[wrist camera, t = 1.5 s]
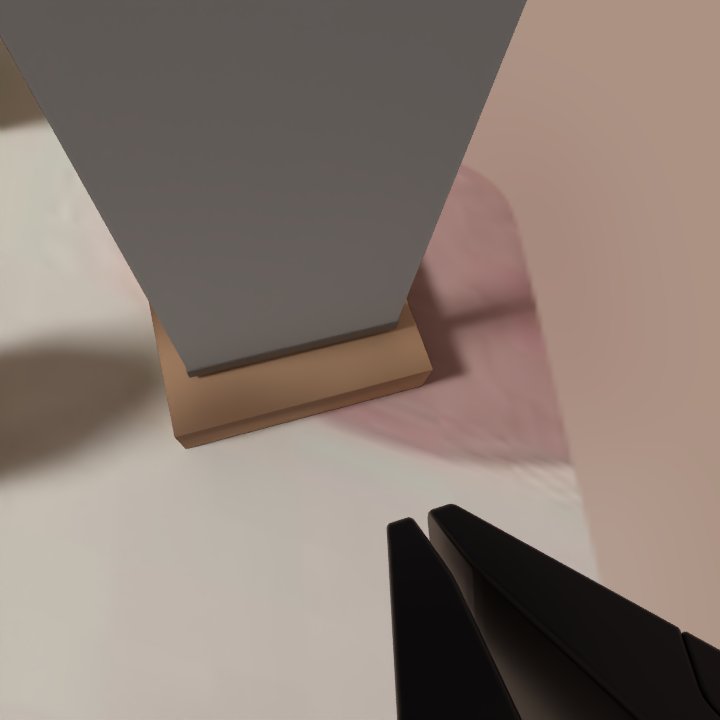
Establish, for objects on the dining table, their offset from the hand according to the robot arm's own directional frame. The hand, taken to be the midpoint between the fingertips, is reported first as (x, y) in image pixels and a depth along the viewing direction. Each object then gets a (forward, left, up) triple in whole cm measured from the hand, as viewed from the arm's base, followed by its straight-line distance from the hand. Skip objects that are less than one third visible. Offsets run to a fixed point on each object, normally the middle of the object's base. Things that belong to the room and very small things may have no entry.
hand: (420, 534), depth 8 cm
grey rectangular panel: (+8, -3, -11) cm, 14 cm away
